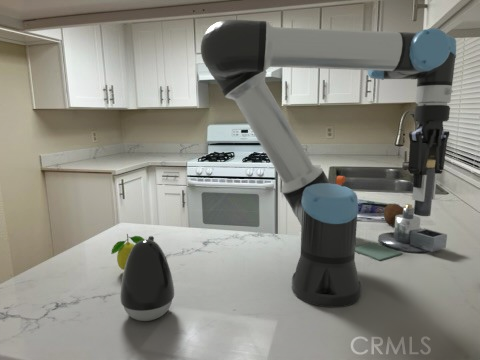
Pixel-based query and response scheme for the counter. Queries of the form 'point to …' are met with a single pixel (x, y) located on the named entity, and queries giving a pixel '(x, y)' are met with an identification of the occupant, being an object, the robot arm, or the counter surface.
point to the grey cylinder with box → (417, 232)
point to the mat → (377, 251)
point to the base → (398, 244)
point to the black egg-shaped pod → (146, 282)
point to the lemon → (124, 250)
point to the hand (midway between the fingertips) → (423, 199)
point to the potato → (392, 213)
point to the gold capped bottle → (426, 191)
